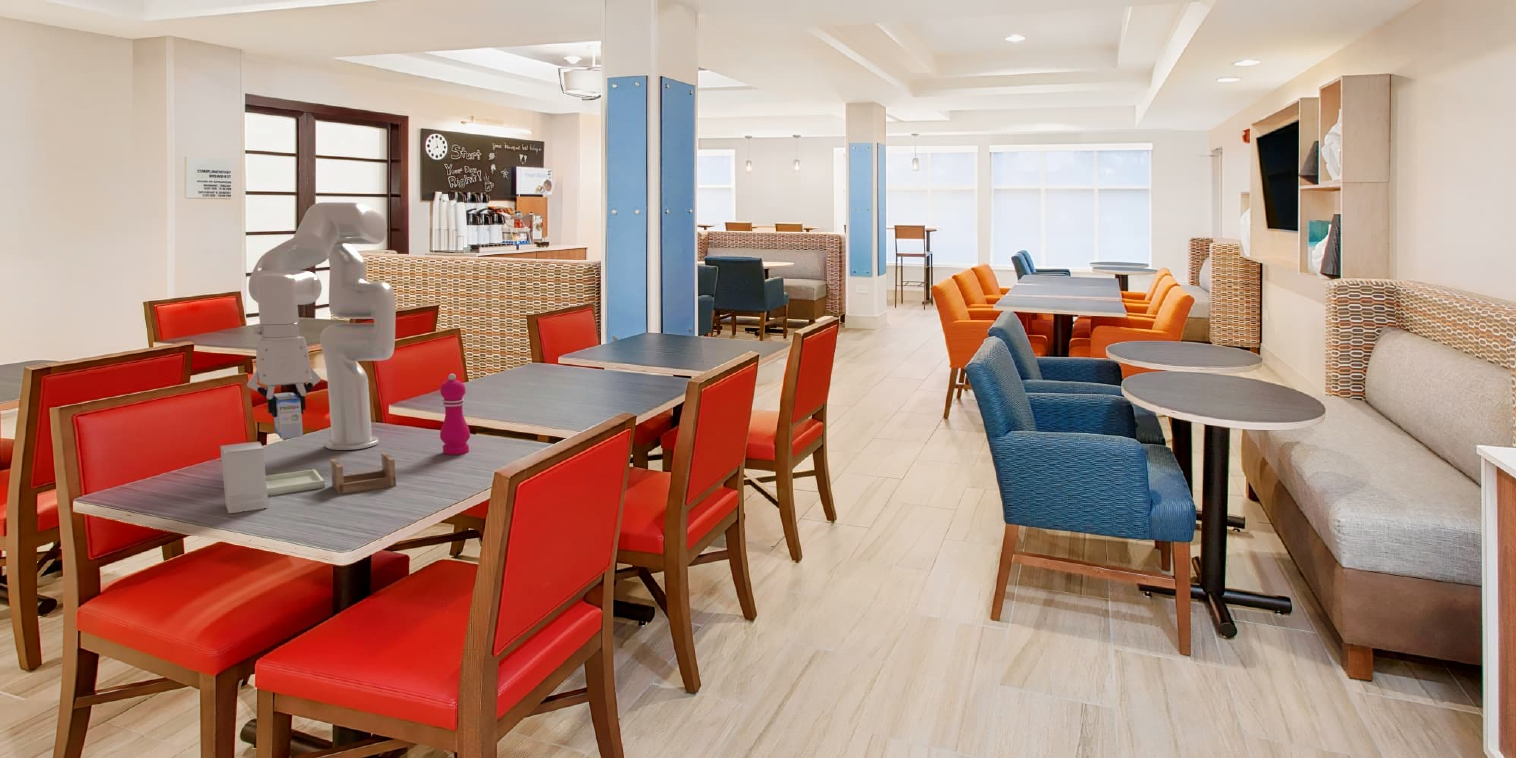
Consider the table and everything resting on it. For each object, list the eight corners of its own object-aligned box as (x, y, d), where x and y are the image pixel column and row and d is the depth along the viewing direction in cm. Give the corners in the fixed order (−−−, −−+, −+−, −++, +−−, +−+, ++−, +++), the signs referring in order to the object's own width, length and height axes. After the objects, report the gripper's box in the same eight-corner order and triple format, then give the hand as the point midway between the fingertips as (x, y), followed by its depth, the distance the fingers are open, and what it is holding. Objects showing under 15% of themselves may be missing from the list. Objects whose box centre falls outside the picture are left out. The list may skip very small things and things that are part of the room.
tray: (260, 483, 208) (259, 476, 208) (315, 475, 214) (314, 469, 214) (267, 495, 199) (267, 488, 198) (324, 487, 205) (324, 480, 205)
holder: (332, 485, 206) (330, 459, 205) (387, 477, 213) (385, 452, 212) (339, 494, 200) (337, 466, 199) (396, 485, 207) (394, 459, 206)
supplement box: (269, 508, 190) (264, 447, 188) (227, 514, 186) (221, 452, 184) (265, 499, 196) (260, 440, 194) (225, 504, 193) (219, 445, 190)
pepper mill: (461, 456, 232) (457, 376, 229) (435, 454, 234) (430, 375, 230) (476, 449, 239) (472, 372, 236) (450, 447, 241) (446, 370, 237)
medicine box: (275, 432, 207) (271, 393, 205) (297, 429, 209) (293, 391, 208) (280, 439, 200) (277, 399, 199) (303, 436, 203) (300, 397, 201)
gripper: (237, 336, 193) (245, 422, 196) (326, 330, 202) (332, 413, 206) (233, 332, 199) (241, 416, 202) (319, 327, 208) (325, 407, 212)
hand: (287, 413), depth 204 cm, fingers closed on medicine box, 4 cm apart
